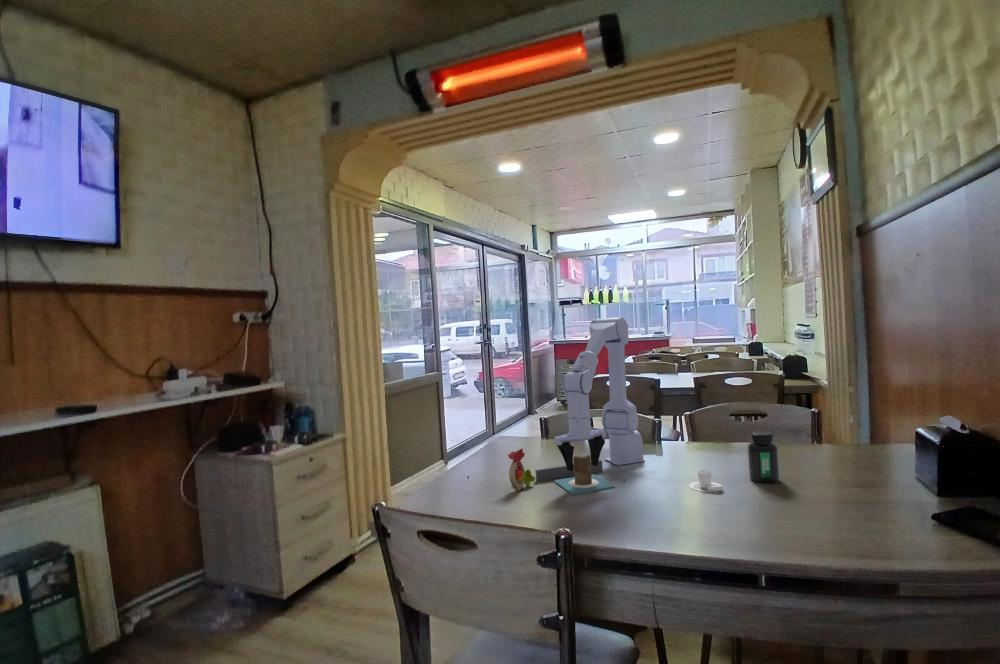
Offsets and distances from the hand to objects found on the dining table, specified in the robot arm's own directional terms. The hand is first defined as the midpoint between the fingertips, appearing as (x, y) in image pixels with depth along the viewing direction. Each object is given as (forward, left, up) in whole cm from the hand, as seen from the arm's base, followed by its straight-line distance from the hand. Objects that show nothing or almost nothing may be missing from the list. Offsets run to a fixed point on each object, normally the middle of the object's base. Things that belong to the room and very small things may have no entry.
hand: (582, 467), depth 138 cm
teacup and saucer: (-23, +17, -5) cm, 30 cm away
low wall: (0, -9, -5) cm, 10 cm away
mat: (0, 0, -5) cm, 5 cm away
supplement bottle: (-42, +18, -5) cm, 46 cm away
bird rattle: (+16, -5, -5) cm, 17 cm away
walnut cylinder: (0, 0, -4) cm, 4 cm away
